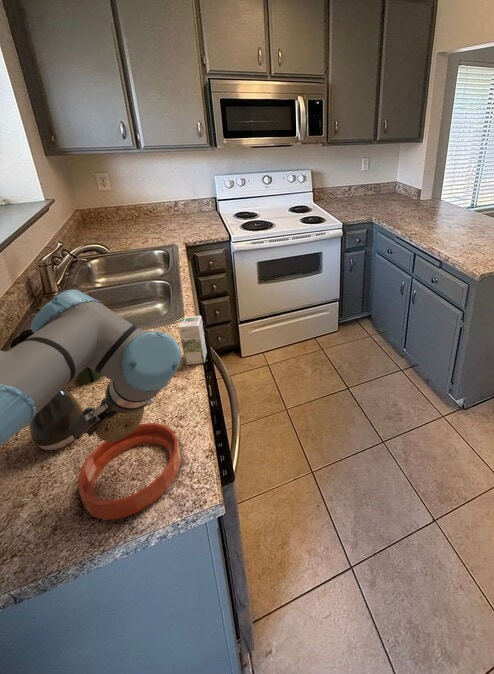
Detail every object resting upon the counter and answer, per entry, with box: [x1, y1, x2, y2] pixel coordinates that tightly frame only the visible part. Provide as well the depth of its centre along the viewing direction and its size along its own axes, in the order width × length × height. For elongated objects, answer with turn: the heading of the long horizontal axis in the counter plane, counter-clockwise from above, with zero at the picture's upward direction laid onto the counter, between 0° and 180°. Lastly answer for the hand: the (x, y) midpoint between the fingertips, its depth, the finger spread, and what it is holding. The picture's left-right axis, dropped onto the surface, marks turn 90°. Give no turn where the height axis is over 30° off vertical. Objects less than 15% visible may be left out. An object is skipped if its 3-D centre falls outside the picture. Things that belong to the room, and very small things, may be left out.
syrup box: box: [178, 315, 208, 366], centre depth 109 cm, size 6×6×14 cm
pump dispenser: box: [28, 387, 84, 451], centre depth 82 cm, size 10×10×15 cm
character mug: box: [76, 367, 103, 385], centre depth 102 cm, size 11×7×13 cm, turn 130°
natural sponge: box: [94, 407, 145, 442], centre depth 71 cm, size 9×9×10 cm
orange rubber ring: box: [77, 422, 181, 521], centre depth 75 cm, size 18×18×5 cm
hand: (114, 413), depth 74 cm, fingers closed on natural sponge, 9 cm apart
